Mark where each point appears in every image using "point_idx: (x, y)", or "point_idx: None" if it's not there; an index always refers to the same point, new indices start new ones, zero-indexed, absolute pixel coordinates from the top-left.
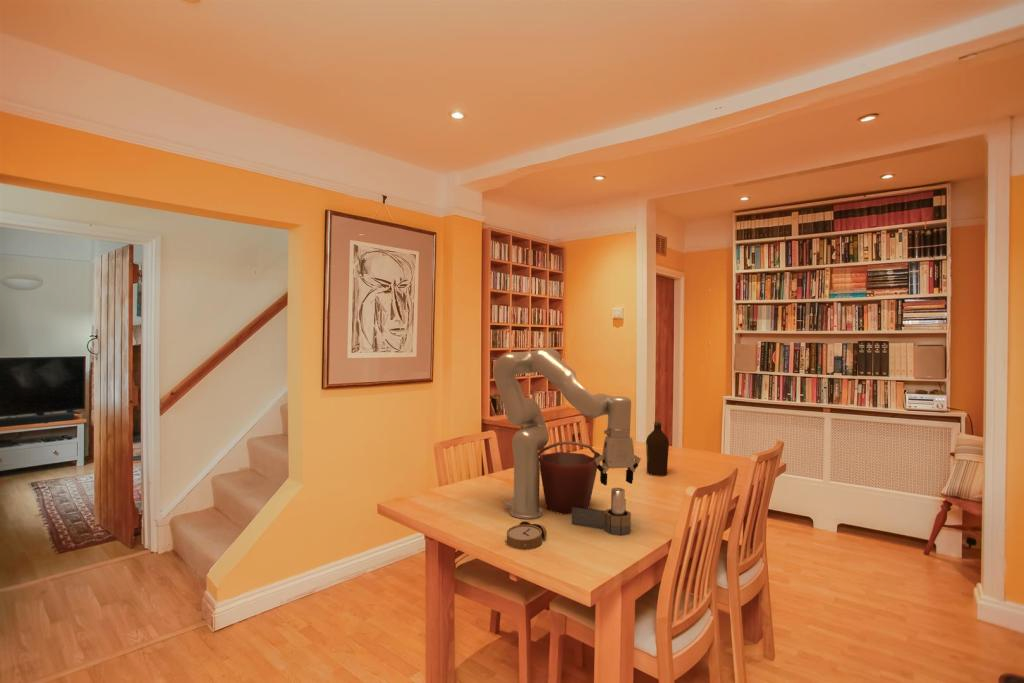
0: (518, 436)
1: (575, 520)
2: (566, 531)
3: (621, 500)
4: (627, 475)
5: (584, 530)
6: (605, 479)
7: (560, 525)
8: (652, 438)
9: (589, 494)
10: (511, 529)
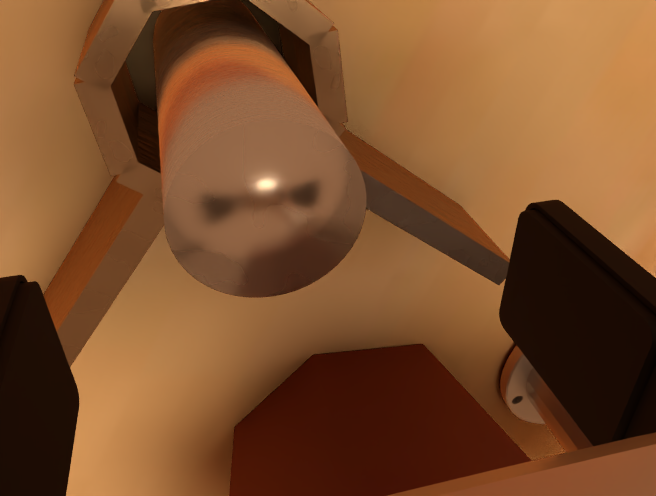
0: None
1: (455, 208)
2: (547, 104)
3: (237, 74)
4: (49, 462)
5: (437, 100)
6: (618, 249)
7: (523, 199)
8: None
9: (263, 479)
10: None
